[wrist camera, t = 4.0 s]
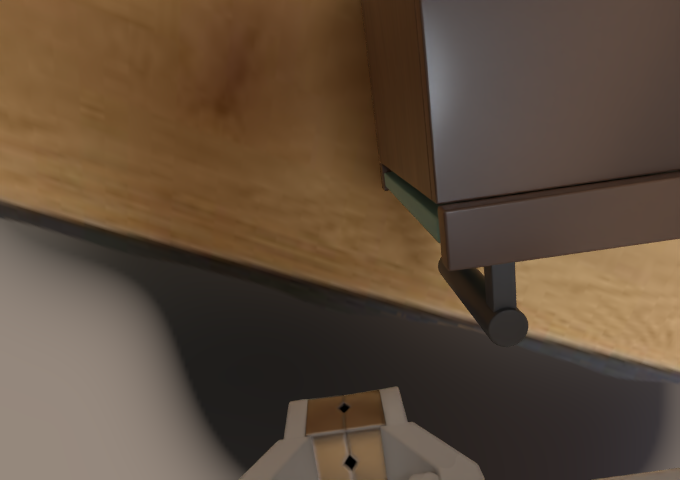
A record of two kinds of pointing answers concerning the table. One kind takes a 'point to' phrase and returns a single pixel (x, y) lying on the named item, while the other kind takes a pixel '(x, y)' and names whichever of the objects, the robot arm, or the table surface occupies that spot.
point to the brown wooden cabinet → (531, 120)
